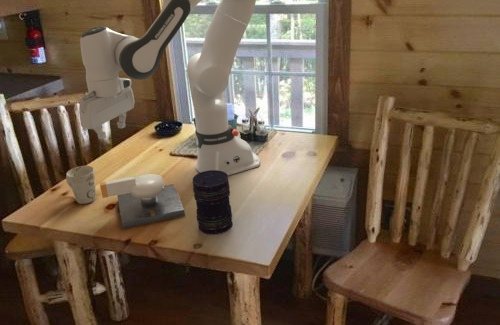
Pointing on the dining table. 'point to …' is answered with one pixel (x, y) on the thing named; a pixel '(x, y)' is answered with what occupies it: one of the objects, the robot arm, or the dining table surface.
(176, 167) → the dining table surface
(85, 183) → the mug
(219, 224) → the dark blue ribbed cylinder
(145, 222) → the plate
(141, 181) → the white handled oval piece
